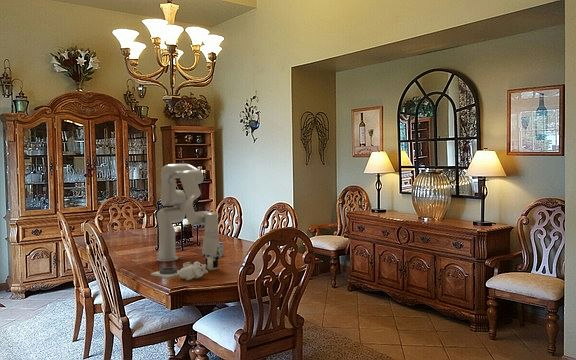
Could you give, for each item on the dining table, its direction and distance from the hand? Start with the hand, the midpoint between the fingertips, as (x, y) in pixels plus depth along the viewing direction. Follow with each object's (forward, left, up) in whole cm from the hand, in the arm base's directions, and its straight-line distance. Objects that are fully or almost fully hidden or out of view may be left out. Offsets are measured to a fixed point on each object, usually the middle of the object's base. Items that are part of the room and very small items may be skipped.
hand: (211, 266), depth 286 cm
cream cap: (0, 0, -2) cm, 2 cm away
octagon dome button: (-11, -22, -2) cm, 25 cm away
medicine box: (-22, +27, -2) cm, 35 cm away
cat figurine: (+7, -21, -2) cm, 22 cm away
